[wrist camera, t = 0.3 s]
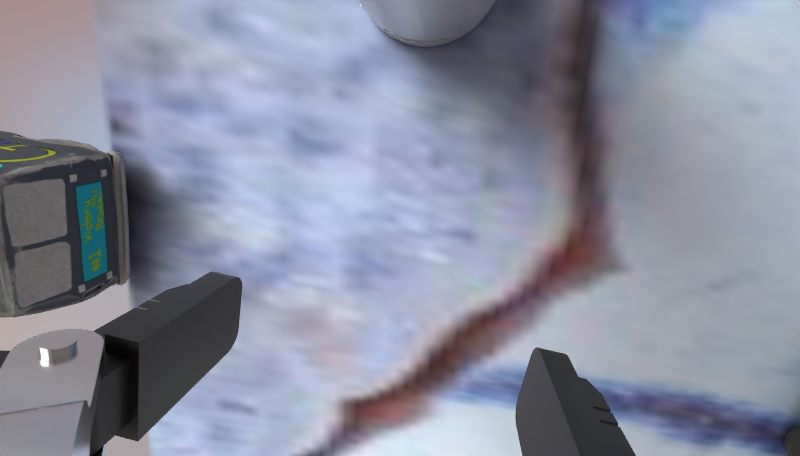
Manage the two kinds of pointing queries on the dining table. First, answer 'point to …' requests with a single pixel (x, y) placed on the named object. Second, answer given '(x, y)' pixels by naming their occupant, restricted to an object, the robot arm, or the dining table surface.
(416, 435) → the dining table surface
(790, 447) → the cart
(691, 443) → the dining table surface
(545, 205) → the dining table surface
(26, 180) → the toy van
